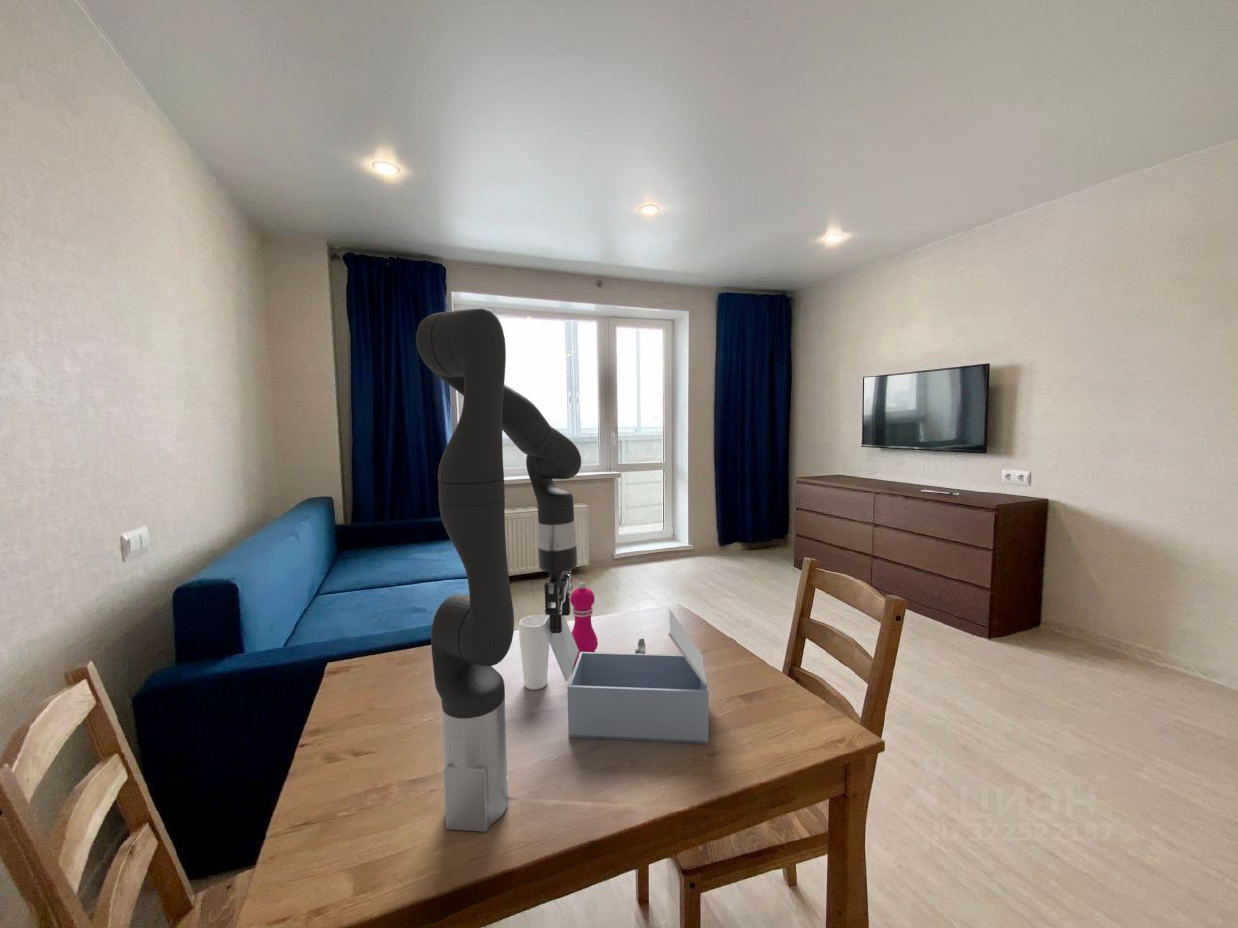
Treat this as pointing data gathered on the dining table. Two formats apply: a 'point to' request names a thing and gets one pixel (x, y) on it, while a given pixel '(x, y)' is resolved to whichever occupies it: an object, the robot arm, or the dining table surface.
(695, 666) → the flap right
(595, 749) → the dining table surface
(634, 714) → the carton
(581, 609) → the pepper mill
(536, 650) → the drinking glass
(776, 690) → the dining table surface
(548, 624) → the flap left
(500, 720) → the robot arm
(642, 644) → the house of cards
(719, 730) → the dining table surface
